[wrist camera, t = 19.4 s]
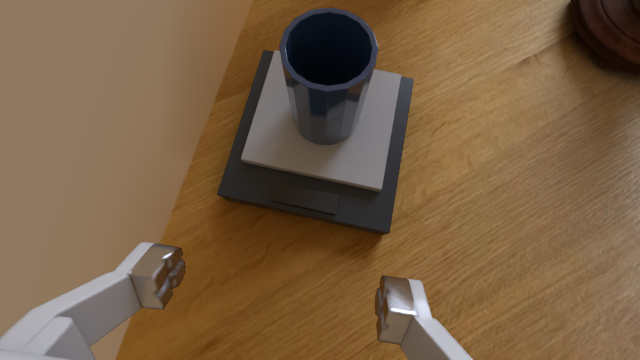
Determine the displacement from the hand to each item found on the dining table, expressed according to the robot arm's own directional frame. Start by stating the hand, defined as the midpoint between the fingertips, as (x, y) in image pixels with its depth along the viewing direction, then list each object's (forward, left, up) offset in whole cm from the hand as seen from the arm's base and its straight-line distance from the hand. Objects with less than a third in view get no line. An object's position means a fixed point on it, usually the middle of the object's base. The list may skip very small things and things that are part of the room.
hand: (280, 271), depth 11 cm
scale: (-1, +12, -15) cm, 20 cm away
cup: (-1, +13, -12) cm, 18 cm away
